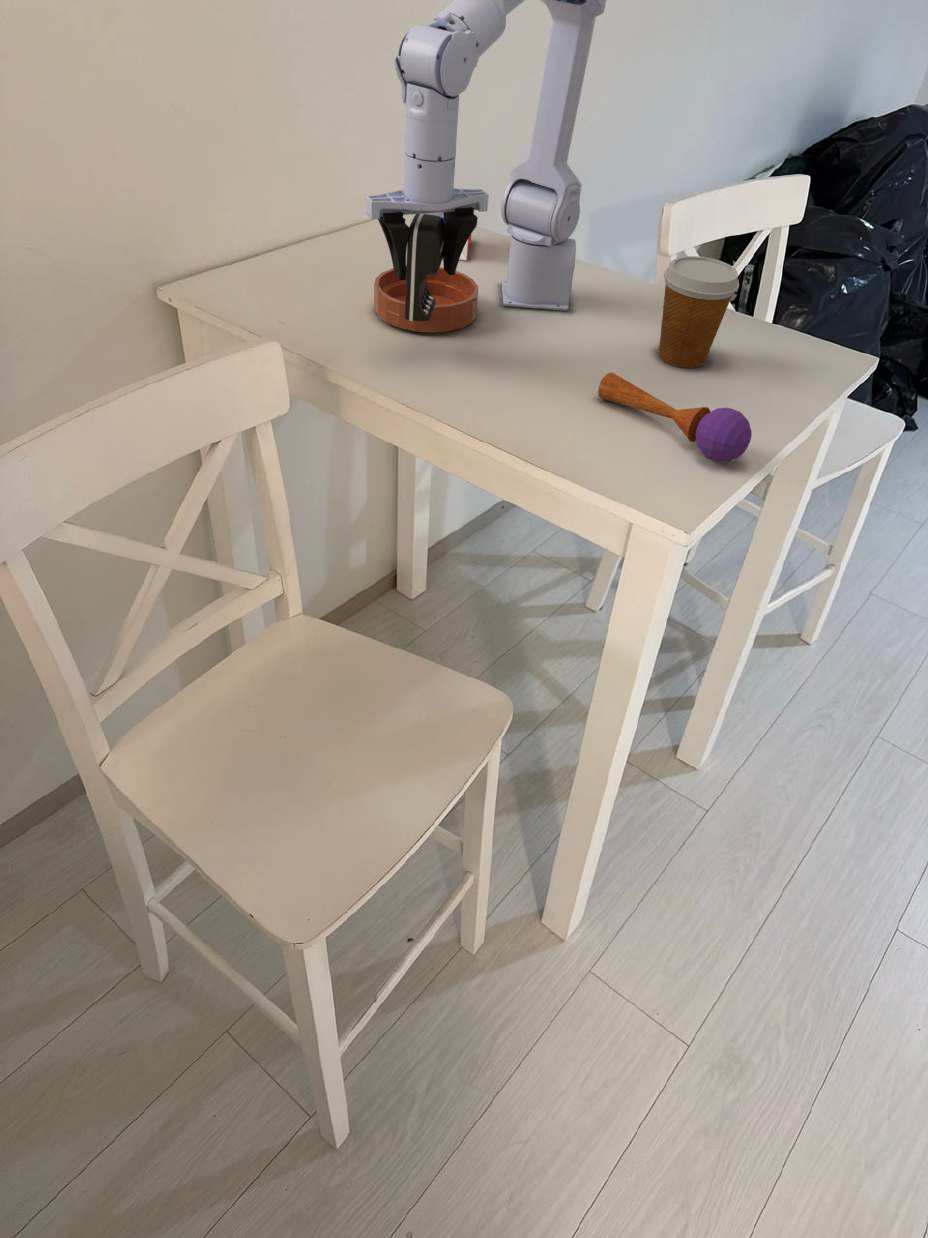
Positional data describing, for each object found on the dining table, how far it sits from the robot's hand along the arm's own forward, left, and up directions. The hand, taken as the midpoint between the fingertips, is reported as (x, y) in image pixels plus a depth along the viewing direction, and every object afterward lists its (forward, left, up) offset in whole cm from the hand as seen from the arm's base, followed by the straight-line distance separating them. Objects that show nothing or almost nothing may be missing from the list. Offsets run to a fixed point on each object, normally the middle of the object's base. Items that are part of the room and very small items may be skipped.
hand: (424, 274), depth 111 cm
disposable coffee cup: (-35, -5, -11) cm, 37 cm away
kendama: (-30, +16, -11) cm, 35 cm away
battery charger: (0, 0, -5) cm, 5 cm away
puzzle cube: (-2, -38, -11) cm, 39 cm away
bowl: (0, -13, -10) cm, 16 cm away
